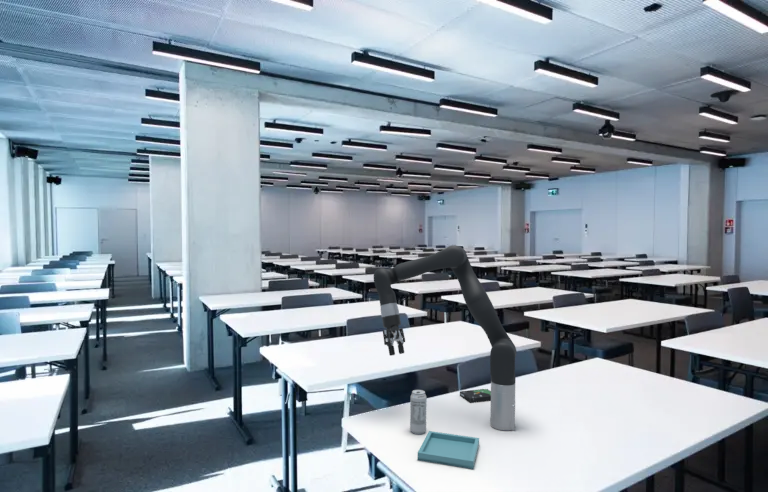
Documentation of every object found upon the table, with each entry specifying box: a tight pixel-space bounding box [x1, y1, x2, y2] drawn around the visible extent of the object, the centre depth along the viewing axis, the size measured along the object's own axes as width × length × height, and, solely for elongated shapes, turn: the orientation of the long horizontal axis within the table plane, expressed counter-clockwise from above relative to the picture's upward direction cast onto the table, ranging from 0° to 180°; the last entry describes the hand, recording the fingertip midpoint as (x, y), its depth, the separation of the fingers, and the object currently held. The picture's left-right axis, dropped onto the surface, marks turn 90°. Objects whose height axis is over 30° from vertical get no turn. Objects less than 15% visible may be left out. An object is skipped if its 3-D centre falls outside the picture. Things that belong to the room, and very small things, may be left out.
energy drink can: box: [409, 389, 428, 435], centre depth 169 cm, size 6×6×15 cm
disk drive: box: [459, 388, 491, 404], centre depth 207 cm, size 10×3×15 cm
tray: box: [417, 430, 480, 470], centre depth 152 cm, size 18×18×2 cm
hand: (397, 354), depth 184 cm, fingers open, 8 cm apart
